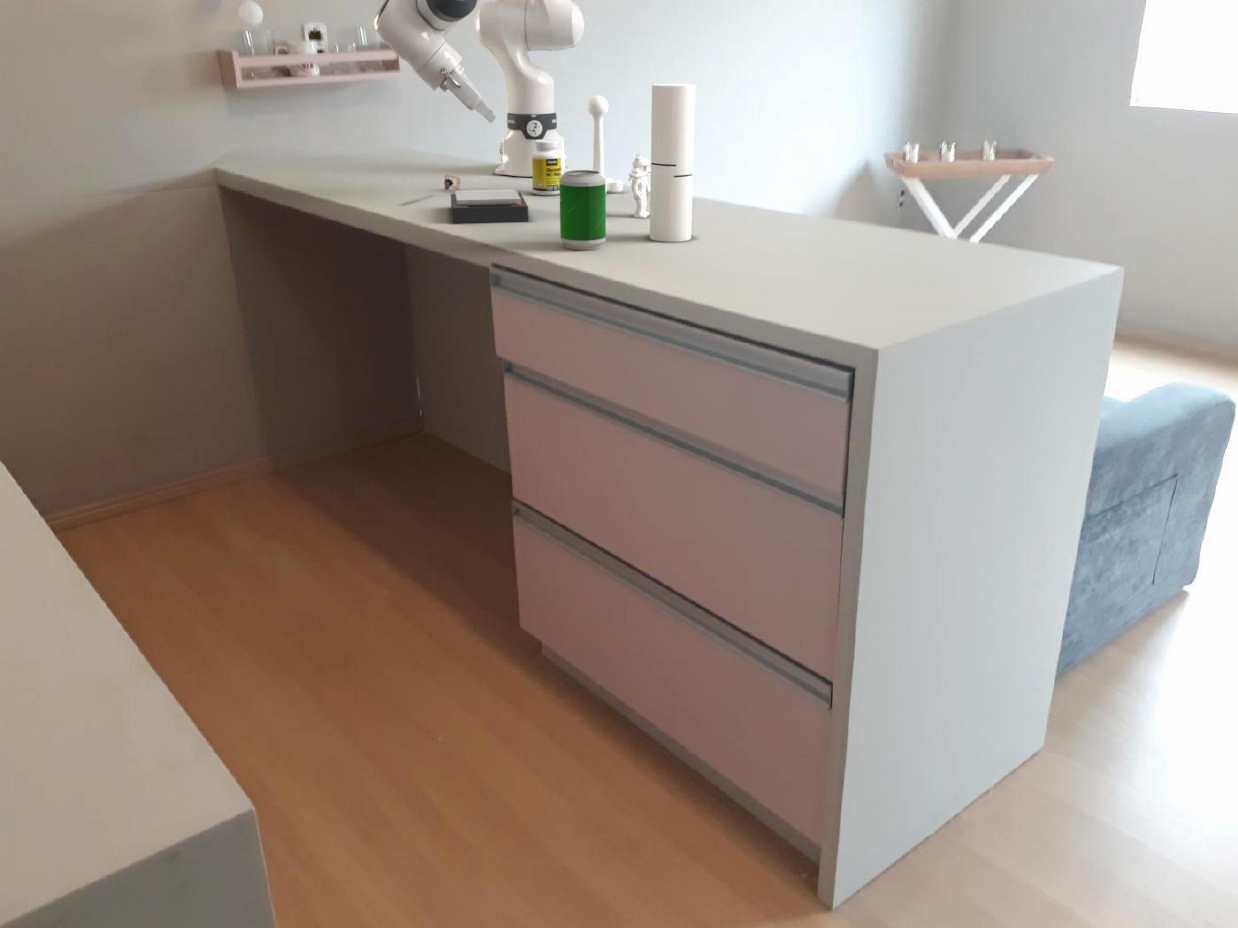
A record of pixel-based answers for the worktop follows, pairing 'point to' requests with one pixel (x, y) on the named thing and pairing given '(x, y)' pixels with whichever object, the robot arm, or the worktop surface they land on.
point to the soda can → (582, 209)
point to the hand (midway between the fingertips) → (492, 118)
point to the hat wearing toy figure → (640, 185)
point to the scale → (488, 206)
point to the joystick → (601, 141)
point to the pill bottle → (546, 168)
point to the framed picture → (450, 182)
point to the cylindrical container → (671, 161)
